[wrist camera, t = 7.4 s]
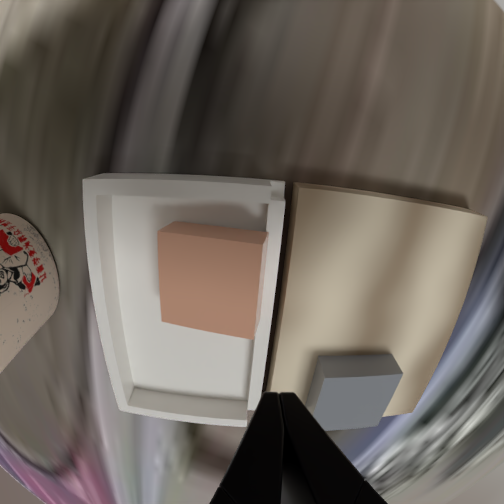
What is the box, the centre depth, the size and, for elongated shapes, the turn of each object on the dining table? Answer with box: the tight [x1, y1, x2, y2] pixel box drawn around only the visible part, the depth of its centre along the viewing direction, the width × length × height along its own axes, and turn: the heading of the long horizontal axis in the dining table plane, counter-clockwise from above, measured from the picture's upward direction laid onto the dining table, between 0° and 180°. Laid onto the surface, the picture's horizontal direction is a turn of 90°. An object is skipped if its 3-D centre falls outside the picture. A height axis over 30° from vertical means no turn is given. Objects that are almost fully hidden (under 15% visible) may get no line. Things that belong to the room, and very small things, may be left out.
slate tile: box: [305, 354, 403, 431], centre depth 17 cm, size 5×5×2 cm
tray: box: [82, 173, 286, 427], centre depth 17 cm, size 10×16×2 cm, turn 175°
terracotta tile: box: [157, 221, 269, 340], centre depth 16 cm, size 5×5×2 cm
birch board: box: [266, 182, 488, 417], centre depth 18 cm, size 12×16×2 cm
